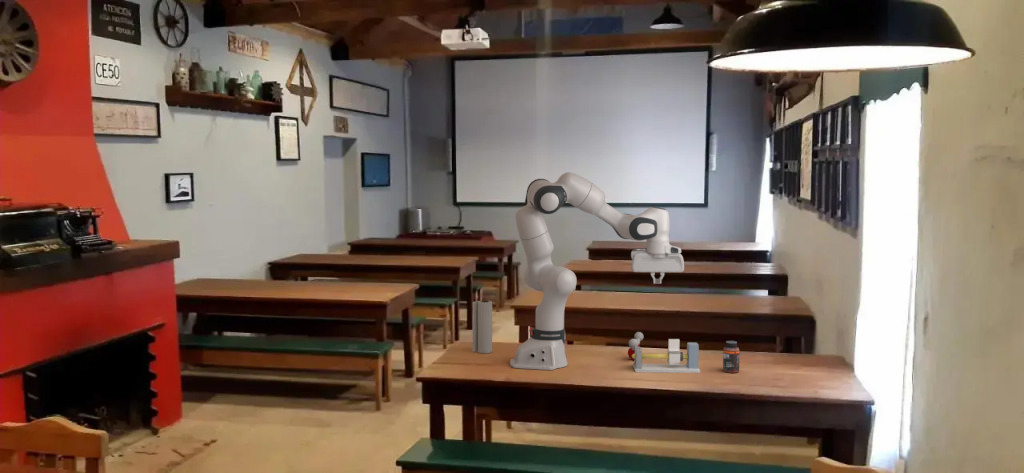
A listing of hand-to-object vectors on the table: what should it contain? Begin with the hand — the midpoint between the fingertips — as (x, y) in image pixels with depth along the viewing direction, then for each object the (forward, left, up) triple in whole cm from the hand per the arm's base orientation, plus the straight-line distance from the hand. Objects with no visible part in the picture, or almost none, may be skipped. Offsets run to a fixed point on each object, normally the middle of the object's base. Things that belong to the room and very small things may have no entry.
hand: (657, 283), depth 309 cm
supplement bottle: (+26, -14, -31) cm, 43 cm away
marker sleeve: (+5, -12, -29) cm, 31 cm away
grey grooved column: (-69, +14, -31) cm, 77 cm away
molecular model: (-8, +3, -31) cm, 32 cm away
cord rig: (+2, -12, -31) cm, 33 cm away
